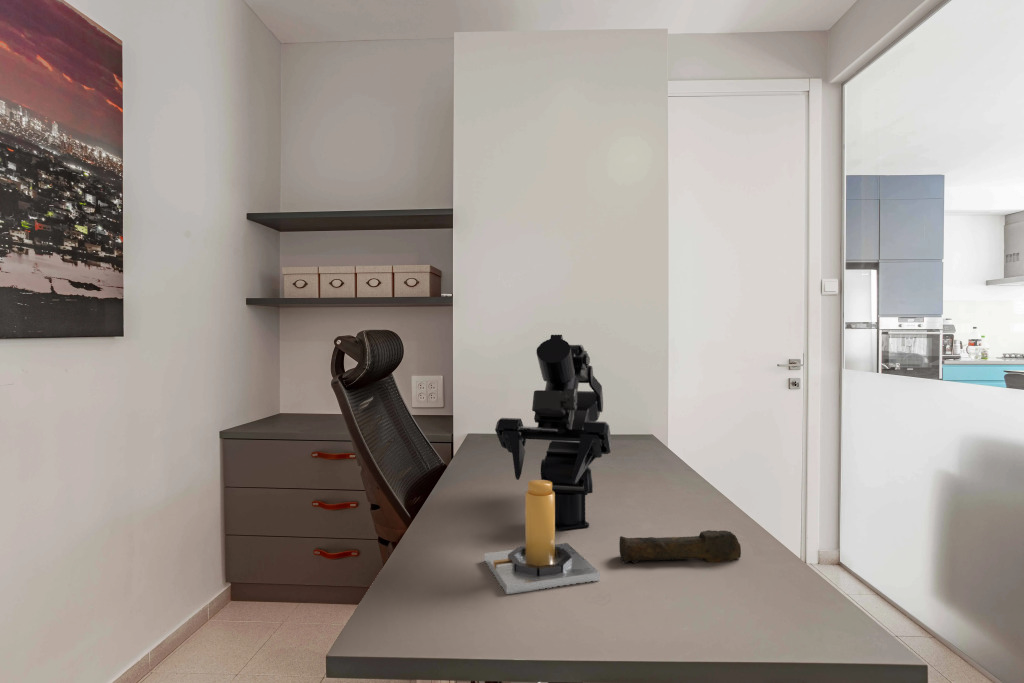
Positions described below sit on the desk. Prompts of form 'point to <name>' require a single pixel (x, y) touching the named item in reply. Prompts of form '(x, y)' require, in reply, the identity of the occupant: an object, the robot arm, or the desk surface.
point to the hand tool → (682, 547)
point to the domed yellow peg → (540, 523)
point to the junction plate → (540, 569)
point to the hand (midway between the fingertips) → (545, 480)
